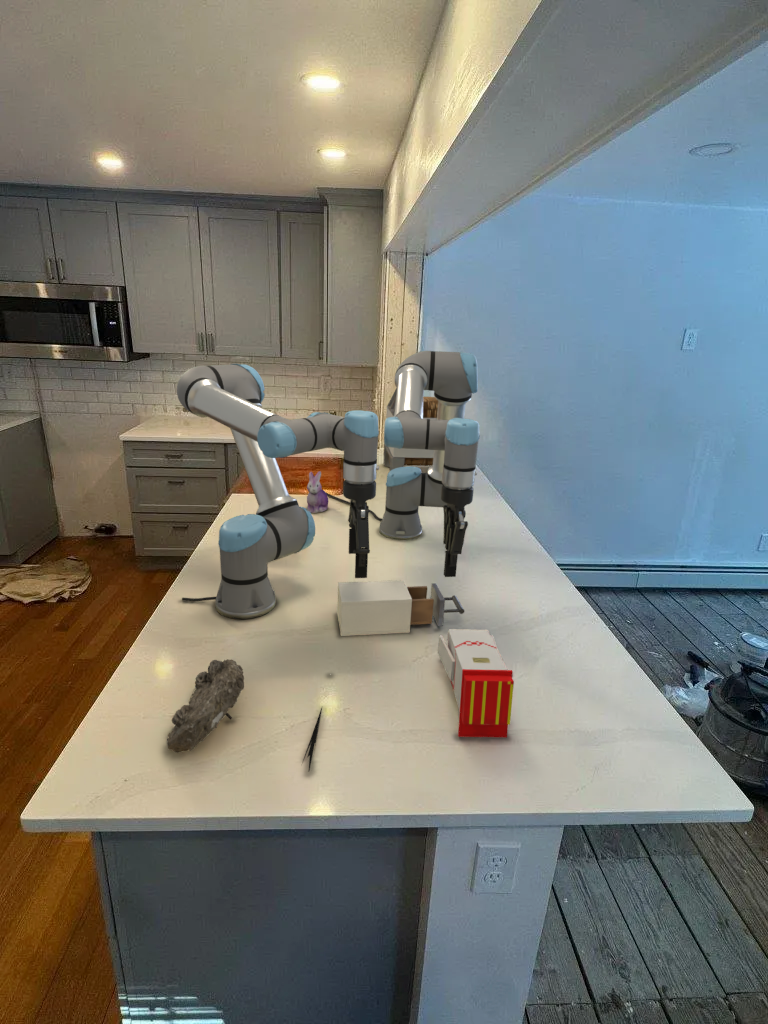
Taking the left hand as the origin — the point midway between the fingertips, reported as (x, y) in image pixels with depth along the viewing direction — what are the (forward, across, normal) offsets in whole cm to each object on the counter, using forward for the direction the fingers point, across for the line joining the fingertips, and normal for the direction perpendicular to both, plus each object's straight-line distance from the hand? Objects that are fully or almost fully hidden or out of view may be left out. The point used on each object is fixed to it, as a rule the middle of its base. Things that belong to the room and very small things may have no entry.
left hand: (357, 564), depth 136 cm
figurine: (+16, +85, +5) cm, 87 cm away
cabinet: (+16, 0, -4) cm, 17 cm away
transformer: (+16, +135, -47) cm, 144 cm away
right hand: (+4, 0, -23) cm, 24 cm away
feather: (+16, -34, +11) cm, 39 cm away
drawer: (+15, 0, -16) cm, 22 cm away
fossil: (+16, -31, +31) cm, 47 cm away
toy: (+16, -29, -21) cm, 39 cm away
